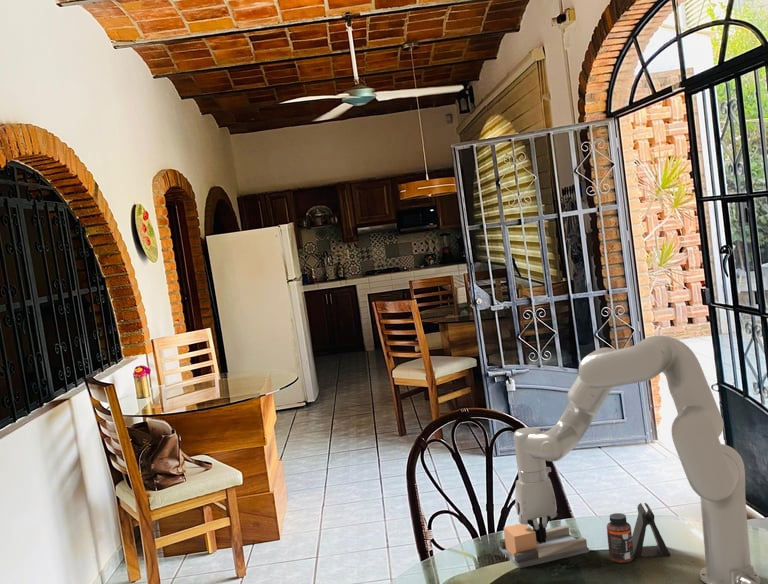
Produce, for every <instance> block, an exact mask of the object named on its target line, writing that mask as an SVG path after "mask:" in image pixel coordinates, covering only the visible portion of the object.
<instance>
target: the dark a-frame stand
mask: <svg viewBox="0 0 768 584" xmlns="http://www.w3.org/2000/svg"><path fill="white" fill-rule="evenodd" d="M644 506H645V508H646V509H647V511H646V509H645V508H644ZM647 526H649V527H650V530H651V532H652V535H653V537H654V539H655V543H656V545H647V546H644V540H645V536H646V530H647ZM632 543H633V554H634V555H633V556H634V558H633V559H646V558H647V559H648V558H665V557H667V558H668V557H671V554H670V551H669V549H668V547H667V546H666V544H665V541H664V539H663V536H662V535H661V533H660V531H659V528H658V526H657V525H656V523H655V514H654V512H653V511H652V509H651V507H650V506H649V504H648V503H646V502H644V505H643V504H642V502H641V503H639V504H637V517H636V522H635V525H634V528H633V532H632Z"/></svg>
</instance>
